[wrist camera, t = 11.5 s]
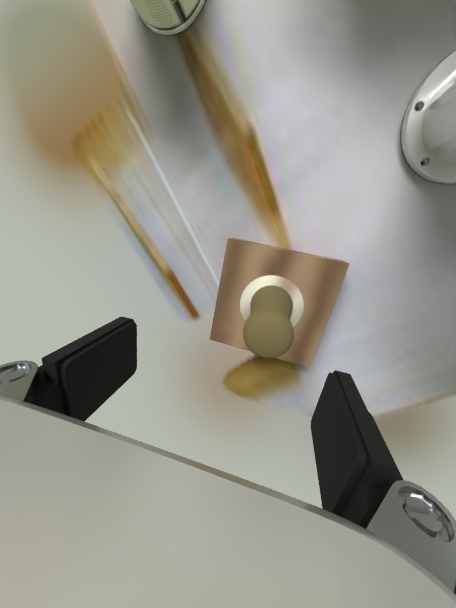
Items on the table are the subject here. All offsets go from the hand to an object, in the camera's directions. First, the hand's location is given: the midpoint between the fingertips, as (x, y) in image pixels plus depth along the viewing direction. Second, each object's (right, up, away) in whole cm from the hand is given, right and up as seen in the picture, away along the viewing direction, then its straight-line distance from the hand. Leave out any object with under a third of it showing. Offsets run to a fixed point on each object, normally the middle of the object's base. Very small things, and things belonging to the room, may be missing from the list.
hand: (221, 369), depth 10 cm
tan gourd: (+7, +3, +21) cm, 22 cm away
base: (+7, +4, +24) cm, 25 cm away
